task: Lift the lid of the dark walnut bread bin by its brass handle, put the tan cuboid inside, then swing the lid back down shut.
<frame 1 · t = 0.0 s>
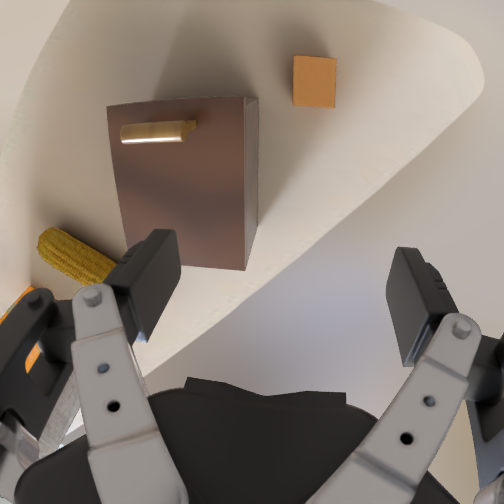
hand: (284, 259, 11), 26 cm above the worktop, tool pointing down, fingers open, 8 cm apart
food: (102, 258, 47), on the worktop
bread lid: (168, 196, 27), point 11 cm above the worktop, hinge at 0.0°
grey jug: (68, 365, 67), on the worktop
bread bin: (204, 164, 37), on the worktop
orange juice: (45, 307, 56), on the worktop
tan cuboid: (312, 80, 30), on the worktop
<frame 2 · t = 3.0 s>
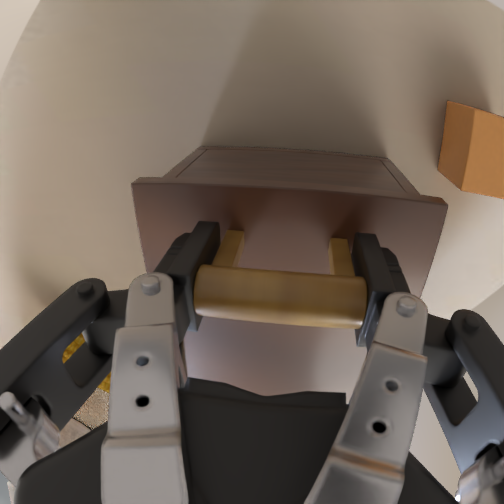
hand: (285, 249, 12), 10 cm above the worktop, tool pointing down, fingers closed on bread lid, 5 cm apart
food: (122, 349, 34), on the worktop
bread lid: (275, 372, 14), point 11 cm above the worktop, hinge at 0.0°, touching gripper
grey jug: (79, 428, 55), on the worktop
bread bin: (288, 252, 24), on the worktop
tan cuboid: (466, 140, 17), on the worktop
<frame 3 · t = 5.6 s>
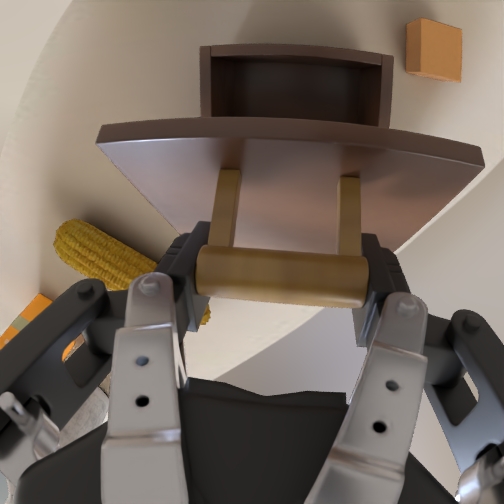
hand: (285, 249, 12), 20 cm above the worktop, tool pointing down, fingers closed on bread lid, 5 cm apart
food: (139, 259, 38), on the worktop
bread lid: (285, 265, 16), point 17 cm above the worktop, hinge at 45.0°, touching gripper
grey jug: (82, 385, 58), on the worktop
bread bin: (295, 137, 28), on the worktop
orange juice: (57, 318, 48), on the worktop
tan cuboid: (425, 52, 22), on the worktop
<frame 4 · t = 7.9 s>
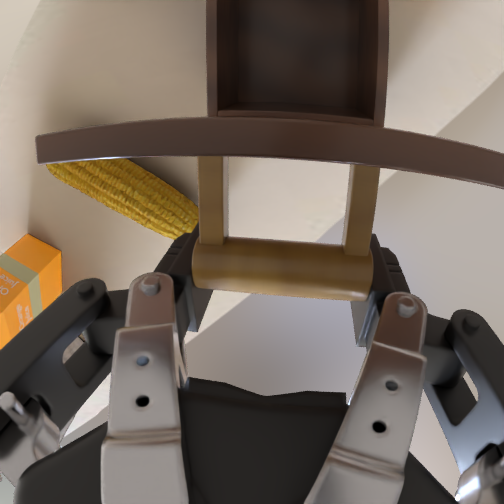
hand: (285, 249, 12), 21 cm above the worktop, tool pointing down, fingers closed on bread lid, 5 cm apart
food: (133, 175, 35), on the worktop
bread lid: (291, 173, 14), point 18 cm above the worktop, hinge at 82.9°, touching gripper
grey jug: (70, 345, 55), on the worktop
bread bin: (298, 34, 24), on the worktop
orange juice: (45, 262, 44), on the worktop
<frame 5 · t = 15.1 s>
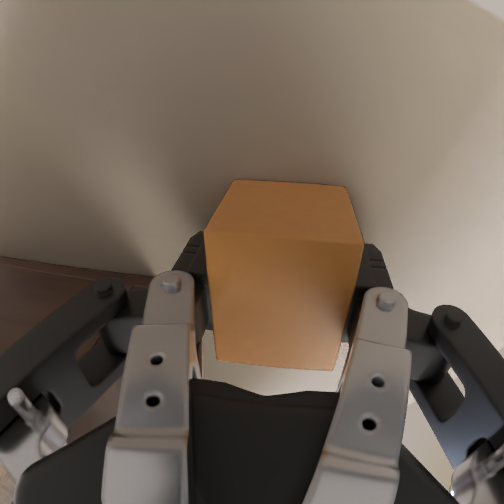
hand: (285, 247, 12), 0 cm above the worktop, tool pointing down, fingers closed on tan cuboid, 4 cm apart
grey jug: (32, 449, 50), on the worktop
bread bin: (95, 359, 19), on the worktop
tan cuboid: (286, 243, 12), on the worktop, touching gripper
when the fingers open (8 cm above the worktop, at t = 20.3 s): tan cuboid drops 7 cm, resting on bread bin.
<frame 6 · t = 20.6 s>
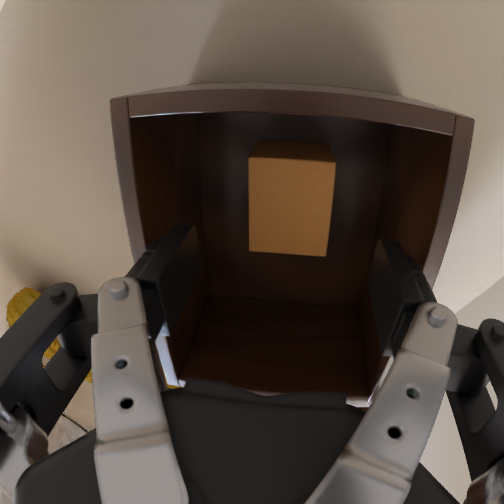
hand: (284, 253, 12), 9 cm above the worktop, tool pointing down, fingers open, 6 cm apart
food: (104, 333, 30), on the worktop
grey jug: (68, 425, 51), on the worktop
bread bin: (290, 207, 20), on the worktop
tan cuboid: (292, 182, 19), point 1 cm above the worktop, touching bread bin
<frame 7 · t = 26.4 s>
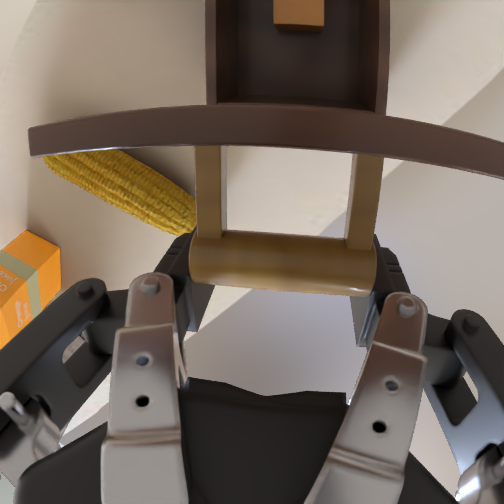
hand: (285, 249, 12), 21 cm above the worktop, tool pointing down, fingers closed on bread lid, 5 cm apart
food: (132, 170, 34), on the worktop
bread lid: (292, 165, 14), point 18 cm above the worktop, hinge at 83.5°, touching gripper
bread bin: (298, 27, 24), on the worktop
orange juice: (44, 259, 44), on the worktop
tan cuboid: (299, 7, 22), point 1 cm above the worktop, touching bread bin
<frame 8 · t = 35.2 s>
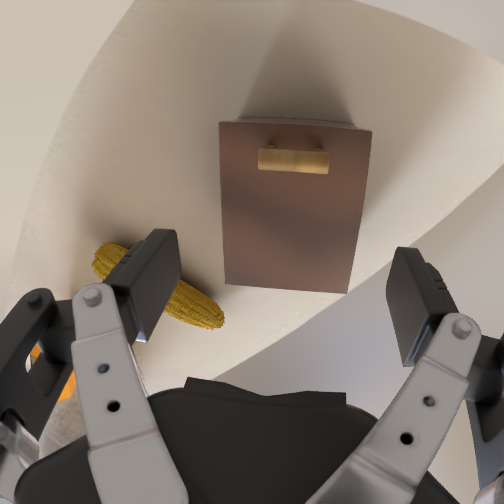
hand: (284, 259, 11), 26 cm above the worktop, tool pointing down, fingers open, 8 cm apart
food: (164, 275, 47), on the worktop
bread lid: (290, 224, 27), point 11 cm above the worktop, hinge at -0.2°, touching bread bin
grey jug: (104, 379, 68), on the worktop
bread bin: (293, 184, 37), on the worktop
orange juice: (86, 322, 57), on the worktop
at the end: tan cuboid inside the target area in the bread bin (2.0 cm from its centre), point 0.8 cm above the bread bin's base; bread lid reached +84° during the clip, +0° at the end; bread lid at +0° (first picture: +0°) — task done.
